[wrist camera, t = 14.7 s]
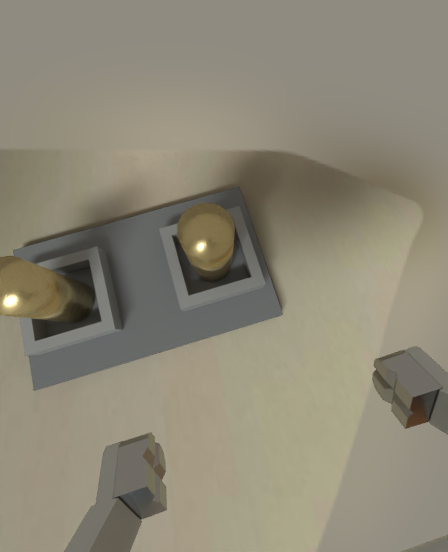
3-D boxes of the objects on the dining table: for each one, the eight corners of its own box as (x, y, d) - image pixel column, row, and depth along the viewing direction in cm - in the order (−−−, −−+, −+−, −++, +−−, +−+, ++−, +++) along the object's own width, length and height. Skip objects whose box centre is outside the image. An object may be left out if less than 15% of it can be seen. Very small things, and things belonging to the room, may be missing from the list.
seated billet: (57, 327, 28) (-22, 322, 19) (50, 288, 29) (-29, 265, 20) (98, 315, 28) (39, 304, 19) (90, 276, 29) (30, 249, 20)
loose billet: (198, 286, 28) (185, 264, 20) (187, 249, 29) (170, 212, 20) (237, 274, 29) (242, 247, 20) (225, 237, 29) (224, 196, 21)
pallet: (42, 388, 28) (18, 394, 25) (21, 253, 31) (-3, 243, 28) (280, 315, 29) (287, 312, 26) (238, 192, 32) (240, 176, 29)
